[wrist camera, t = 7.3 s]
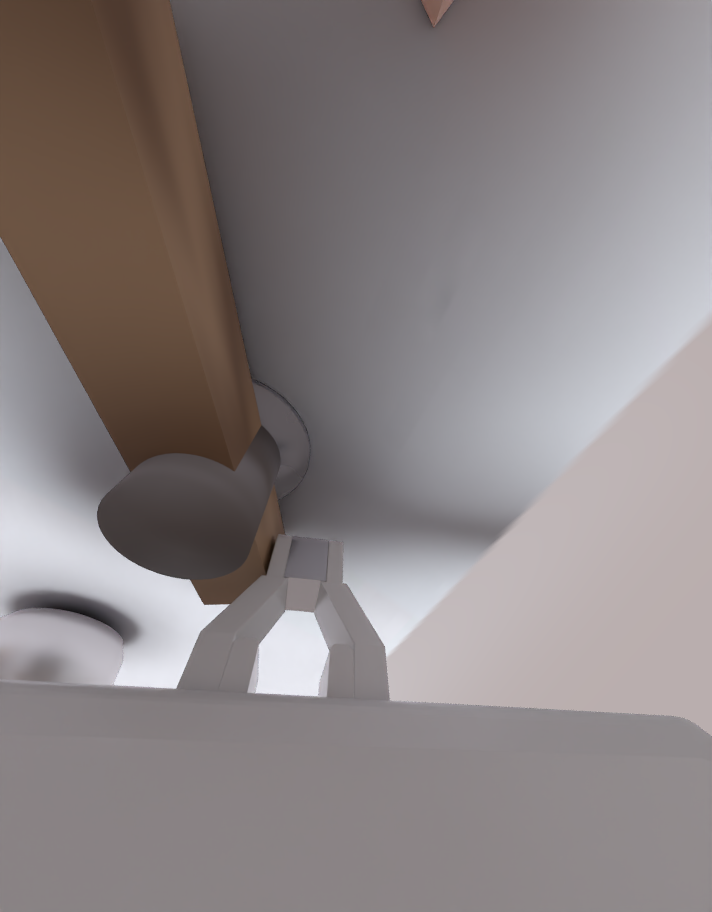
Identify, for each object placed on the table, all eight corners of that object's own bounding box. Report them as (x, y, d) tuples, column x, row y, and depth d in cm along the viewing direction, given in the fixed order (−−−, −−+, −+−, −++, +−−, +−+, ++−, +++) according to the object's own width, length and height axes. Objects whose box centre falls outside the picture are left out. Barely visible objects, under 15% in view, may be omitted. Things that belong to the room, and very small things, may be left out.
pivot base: (131, 443, 10) (125, 447, 9) (212, 335, 8) (206, 337, 8) (253, 519, 12) (251, 524, 11) (340, 447, 10) (340, 452, 10)
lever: (-26, -42, 4) (-765, -658, 1) (185, -46, 4) (-128, -647, 1) (219, 547, 12) (177, 636, 9) (297, 545, 12) (279, 634, 9)
